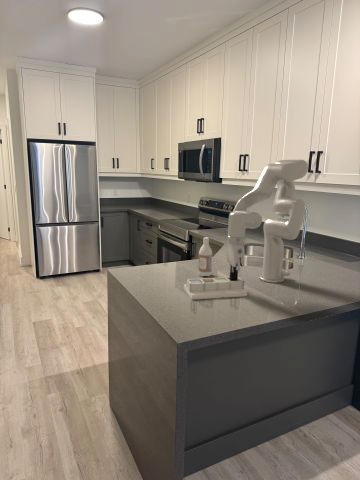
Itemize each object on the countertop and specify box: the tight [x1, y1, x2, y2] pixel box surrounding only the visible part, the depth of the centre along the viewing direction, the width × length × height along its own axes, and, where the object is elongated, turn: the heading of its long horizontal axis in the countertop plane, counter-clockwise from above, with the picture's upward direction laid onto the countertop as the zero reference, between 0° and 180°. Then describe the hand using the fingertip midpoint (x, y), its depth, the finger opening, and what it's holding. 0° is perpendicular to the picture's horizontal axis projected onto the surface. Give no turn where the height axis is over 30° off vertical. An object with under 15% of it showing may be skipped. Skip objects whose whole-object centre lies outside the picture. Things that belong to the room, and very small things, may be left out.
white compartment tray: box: [183, 276, 248, 300], centre depth 147 cm, size 25×14×6 cm, turn 102°
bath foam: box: [197, 236, 213, 277], centre depth 170 cm, size 7×7×20 cm
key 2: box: [215, 279, 227, 282], centre depth 147 cm, size 4×4×2 cm
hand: (233, 280), depth 148 cm, fingers closed
